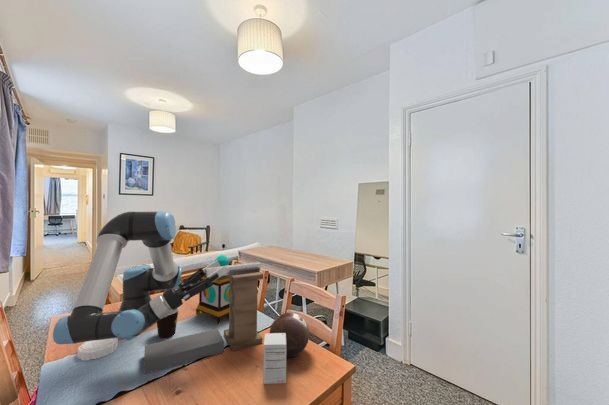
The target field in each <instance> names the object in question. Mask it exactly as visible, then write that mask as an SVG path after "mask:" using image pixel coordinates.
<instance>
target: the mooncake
mask: <svg viewBox="0 0 609 405" xmlns="http://www.w3.org/2000/svg"><path fill="white" fill-rule="evenodd" d="M118 348H119V338H112V339H103V340H94V341H87V342H82V343H81V344H80V346H78V347H77V353H76V354H77V356H76V357H77V358H78V357H79V358H78V360H79V359H81V361H83V360H84V361H86V360H89V361H91V360H90V359H95V360H97V359H101V358H100V357H102V356H103V357H106V356H105V355H107V356H109V355H110V354H109V353H111V354H113V352H115V351H116V350H117V349H118ZM114 350H115V351H114ZM108 354H109V355H108ZM103 357H102V358H103ZM96 358H97V359H96Z"/></svg>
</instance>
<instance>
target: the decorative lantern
mask: <svg viewBox="0 0 609 405" xmlns="http://www.w3.org/2000/svg"><path fill="white" fill-rule="evenodd" d="M216 260H217V261H218V262H219V264H220V266H228V265H233V264H232V263H230V261H229V260H230V259H229V258H228V257H227V256H226V255H224V254H219V255H218V256H217V257H216V258H215V259H214V262H215V261H216ZM204 279H206V276H205V275H204V276H203V277H202V278H201V279H200V280H199V281H202V280H204ZM212 284H213V285H212V286H211V287H209V288H207V289H205V290H204V291H202V292H200V293H198V296H199V297H198V298H199V300H198V305H197V306H196V309H195V314H196V316H199V315H200V314H201V313H204V314H206V315H209V316H211V317H213V318H216V321H217V322H216V323H217V324H219V323H220V324H221V321H222V318H223V317H225V316H227V315H228V316H229V295H230V279H229V278H228V277H227V276H226V275H223V276H221V277H219V278H218V279H217V280H215V281H214V282H212Z"/></svg>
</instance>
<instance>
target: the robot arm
mask: <svg viewBox="0 0 609 405" xmlns="http://www.w3.org/2000/svg"><path fill="white" fill-rule="evenodd" d="M176 227H177V226H176V220H175V216H174V215H173V214H172V213H171V212H170V211H169V212H168V211H162V210H161V211H160V210H159V211H125V212H122V213H120V214H118V215H116V216H115V217H113V218H111V219H110V220H109V221H107V223H105V225H104V226H103V227H102V228H101V229H100V231H99V233H98V235H97V237H96V239H95V242H96V244H97V246H96V249H95V252H94V254H93V256H92V259H91V262H90V265H89V267H88V269H87V272H86V275H85V278H84V279H83V283H82V285H81V287H80V290H79V293H78V296H77V298H76V301H75V303H74V306H73V308H72V311H71V313H70V315H67V316H62V317H61V318H59V319H58V320H57V322H56V323H55V325H54V327H53V330H52V339H53V342H54V343H55V344H57V345H72V344H73V345H74V344H79V343H85V342H87V341H94V340H103V339H112V338H118V339H119V338H120V339H124V340H126V341H132V339H134V338H137V337H139V336H140V335H141V334H142V333H143V332H145V331H147V330H148V329H150V327H152V326H153V325H155V324H157V321H159V320H161V319H162V318H163V317H167V315H168V314H169V313H171V311H172V310H175V309H177V308H178V309H179V308H180V306H182V305H183V304H184V303H183V300H184V302H187V301H188V300H190V299H191V298H192V297H195V296H196V295H199V293H200V292H202V291H204V290H205V289H207V288H209V287H211V286H212V285H213V284H212V282H214V281H215V280H217V279H218V278H219V277H221V276H222V275H224V274H225V273H227V271H226V269H225V267H224V266H222V267H221V268H220V269H218V270H217V271H215V272H214V273H212V274H211V275H209V276H208V278H206V279H204V280H202V281H200V279H201V278H202V277H203V276H204V275H205V268H211V267H219V266H220V264H219V262H218V261H217V260H216V261H215V260H214V261H213V262H212V263H210V264H209V265H207V266H206V267H204V268H203V269H202V267H200V268H198V270H197V271H195V272H194V273H193V274H191V275H190V276H188V277H187V278H186V279H184V281H182V282H181V280H182V271H183V266H181V265H178V264H177V263H176V262H175V261H174V257H173V251H172V246H171V241H172V240H174V239H175V237H176V231H177V228H176ZM130 241H141V242H142V244H143V245H144V246H146V247H147V248H148V251H149V254H150V257H151V261H152V265H153V267H152V266H151V265H150V264H141V265H136V266H133V267H130V268H127V269H125V270H124V271H123V275H122V299H121V300H122V301H121V303H120V306H119V309H118V311H109V312H108V311H107V312H104V307H105V305H106V302H107V298H108V296H109V295H108V294H109V291H110V289H111V286H112V282H113V278H114V277H115V276H114V275H115V274H116V269H117V266H118V263H119V260H120V257H121V253H122V251H123V249H124V248H126V246H127V245H128V242H130ZM159 291H163V293H162V294H158V296H156V297H153V299H152V297H151V292H159Z"/></svg>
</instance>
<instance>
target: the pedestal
mask: <svg viewBox="0 0 609 405" xmlns="http://www.w3.org/2000/svg"><path fill="white" fill-rule="evenodd" d="M226 276H227V277H228V278H229V279H230V295H229V314H228V316H229V318H228V328H226V329H223V336H224V338H225V340H226V341H227V344H228V345H229V347H230V349H231V351H232V352H234V351H239V350H242V349H245V348H250V347H252V346H256V345H260V344H262V343H263V337H262V335H261V334H260V333H259V332H258V282H259V281H261V280H263V279H264V273H262V272H261V271H260V268H251V269H243V270H235V271H230V275H226ZM258 280H259V281H258Z"/></svg>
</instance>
